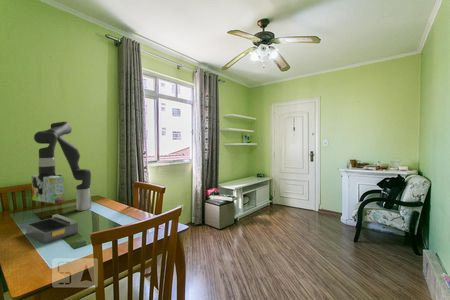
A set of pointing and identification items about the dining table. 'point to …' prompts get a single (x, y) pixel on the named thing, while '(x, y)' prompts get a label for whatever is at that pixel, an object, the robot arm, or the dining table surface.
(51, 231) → the drawer
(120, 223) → the dining table surface
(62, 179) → the snack box
